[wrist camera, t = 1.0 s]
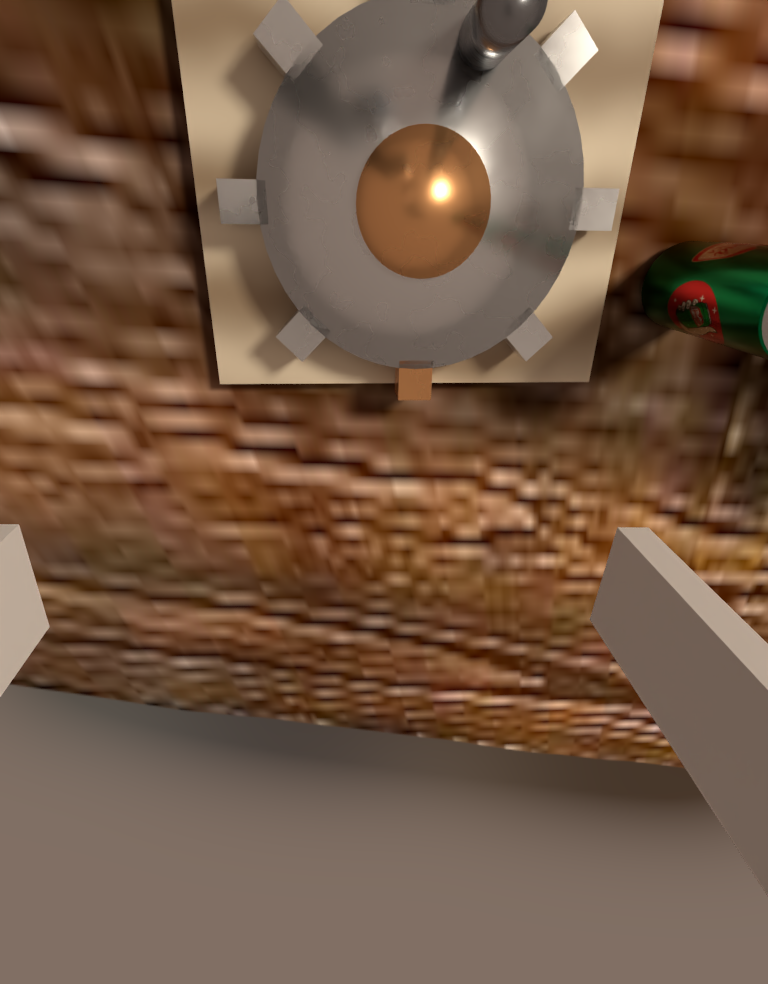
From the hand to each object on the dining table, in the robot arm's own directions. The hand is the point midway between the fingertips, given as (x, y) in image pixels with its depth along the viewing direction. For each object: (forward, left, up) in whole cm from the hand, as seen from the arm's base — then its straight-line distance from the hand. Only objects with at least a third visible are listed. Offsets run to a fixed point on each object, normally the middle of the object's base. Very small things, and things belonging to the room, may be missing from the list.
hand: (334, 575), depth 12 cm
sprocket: (-8, +5, -23) cm, 25 cm away
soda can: (-4, +22, -25) cm, 33 cm away
